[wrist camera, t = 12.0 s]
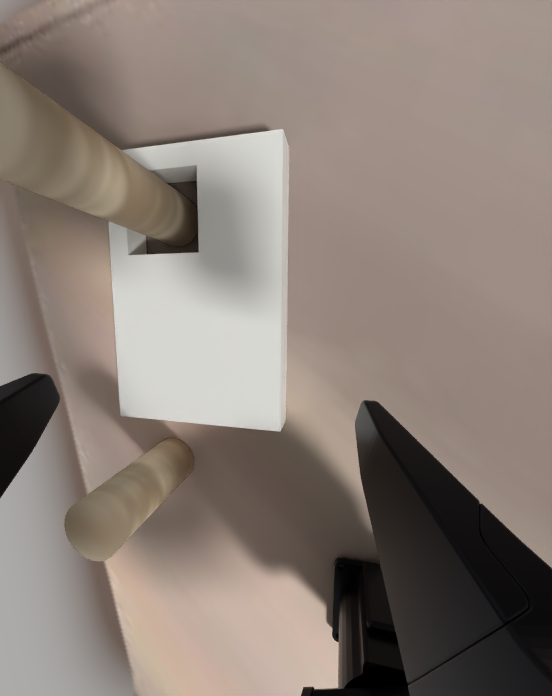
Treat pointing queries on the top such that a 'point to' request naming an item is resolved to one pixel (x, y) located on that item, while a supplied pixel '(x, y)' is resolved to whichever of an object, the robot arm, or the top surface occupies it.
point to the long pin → (84, 167)
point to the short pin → (127, 500)
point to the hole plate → (209, 290)
